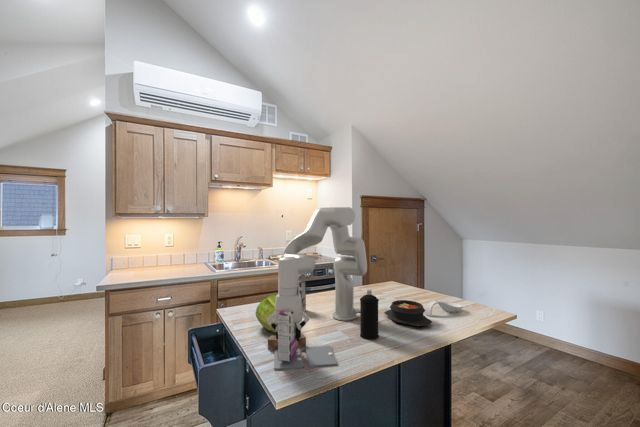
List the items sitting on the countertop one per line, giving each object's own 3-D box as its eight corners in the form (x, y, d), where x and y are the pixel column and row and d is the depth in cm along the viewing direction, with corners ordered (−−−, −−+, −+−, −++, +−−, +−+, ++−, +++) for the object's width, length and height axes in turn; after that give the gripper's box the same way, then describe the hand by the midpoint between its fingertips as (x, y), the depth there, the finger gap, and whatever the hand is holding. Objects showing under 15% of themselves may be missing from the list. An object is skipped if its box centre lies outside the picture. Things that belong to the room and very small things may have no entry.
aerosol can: (374, 341, 117) (374, 293, 118) (356, 337, 122) (356, 290, 122) (381, 334, 124) (381, 289, 125) (364, 330, 129) (364, 286, 129)
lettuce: (305, 342, 127) (274, 357, 118) (280, 310, 145) (251, 321, 136) (308, 316, 122) (276, 329, 113) (281, 286, 140) (251, 295, 131)
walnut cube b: (280, 346, 113) (280, 336, 113) (277, 350, 109) (277, 340, 109) (271, 345, 114) (271, 335, 114) (267, 349, 110) (267, 339, 110)
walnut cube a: (302, 343, 116) (302, 333, 116) (305, 347, 112) (305, 337, 112) (293, 344, 114) (293, 335, 114) (296, 349, 111) (296, 338, 111)
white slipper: (448, 306, 165) (448, 294, 165) (467, 312, 154) (466, 299, 154) (419, 312, 154) (419, 299, 154) (436, 319, 144) (436, 305, 144)
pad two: (300, 349, 110) (300, 347, 110) (303, 367, 96) (303, 365, 96) (274, 351, 109) (274, 348, 109) (274, 370, 95) (274, 367, 95)
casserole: (440, 325, 136) (440, 307, 136) (415, 333, 126) (415, 314, 126) (400, 310, 157) (400, 295, 157) (376, 316, 147) (376, 300, 147)
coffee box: (306, 309, 158) (306, 281, 159) (301, 313, 152) (301, 283, 153) (291, 307, 162) (291, 279, 162) (286, 311, 156) (286, 282, 156)
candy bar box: (286, 346, 109) (286, 304, 109) (298, 347, 108) (299, 304, 108) (276, 361, 98) (277, 313, 98) (290, 362, 97) (291, 314, 97)
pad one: (330, 347, 112) (330, 345, 112) (337, 365, 98) (337, 362, 98) (305, 348, 110) (305, 346, 110) (309, 367, 97) (309, 365, 97)
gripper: (310, 287, 108) (310, 334, 108) (264, 289, 105) (264, 337, 105) (313, 292, 101) (313, 343, 100) (264, 294, 98) (263, 346, 98)
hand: (288, 339), depth 103 cm, fingers closed on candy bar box, 6 cm apart
